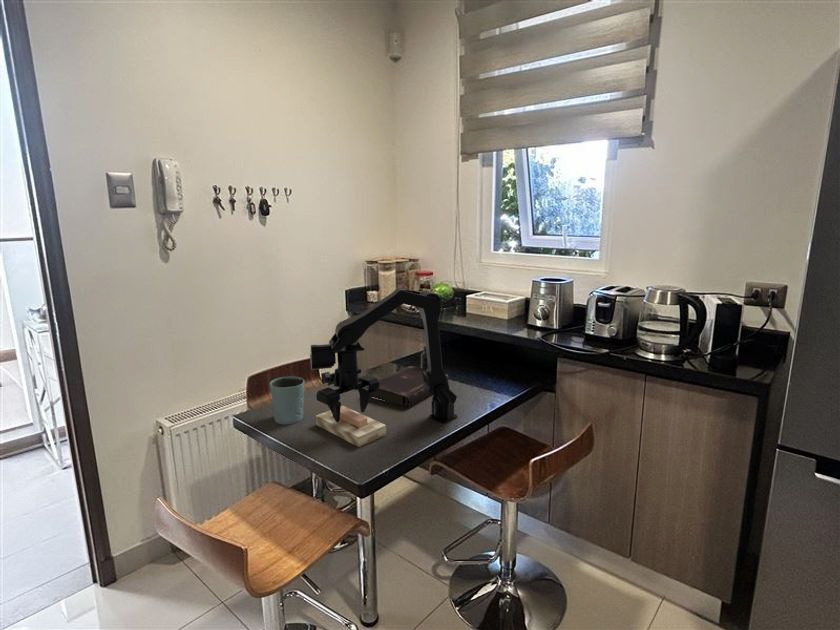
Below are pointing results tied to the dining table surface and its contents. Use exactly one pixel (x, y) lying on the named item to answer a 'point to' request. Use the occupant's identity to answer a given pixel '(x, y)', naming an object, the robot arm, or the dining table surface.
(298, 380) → the teal cup
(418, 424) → the dining table surface
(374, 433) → the cream two-hole slab
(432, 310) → the robot arm
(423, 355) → the supplement bottle
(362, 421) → the pink rectangular block
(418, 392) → the diary
